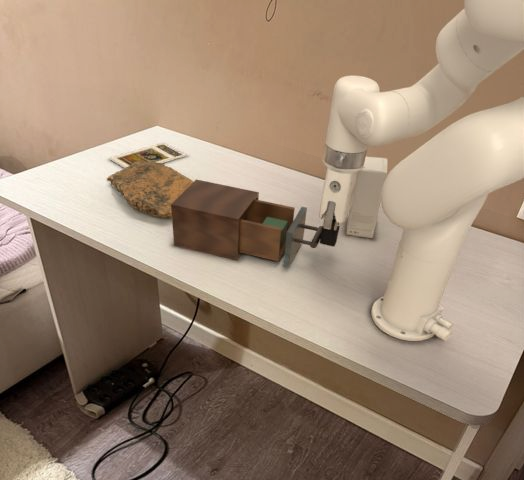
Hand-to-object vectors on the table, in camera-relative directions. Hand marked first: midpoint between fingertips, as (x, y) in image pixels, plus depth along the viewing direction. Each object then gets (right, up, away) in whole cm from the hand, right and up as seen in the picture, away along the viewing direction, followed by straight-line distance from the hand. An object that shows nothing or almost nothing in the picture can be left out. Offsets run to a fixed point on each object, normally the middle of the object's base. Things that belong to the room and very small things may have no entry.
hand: (327, 243), depth 100 cm
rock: (-41, +15, +20) cm, 48 cm away
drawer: (-10, 0, +4) cm, 11 cm away
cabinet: (-24, +3, +8) cm, 25 cm away
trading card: (-45, +32, +36) cm, 66 cm away
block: (-11, +1, +4) cm, 12 cm away
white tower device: (+9, +7, +15) cm, 19 cm away
